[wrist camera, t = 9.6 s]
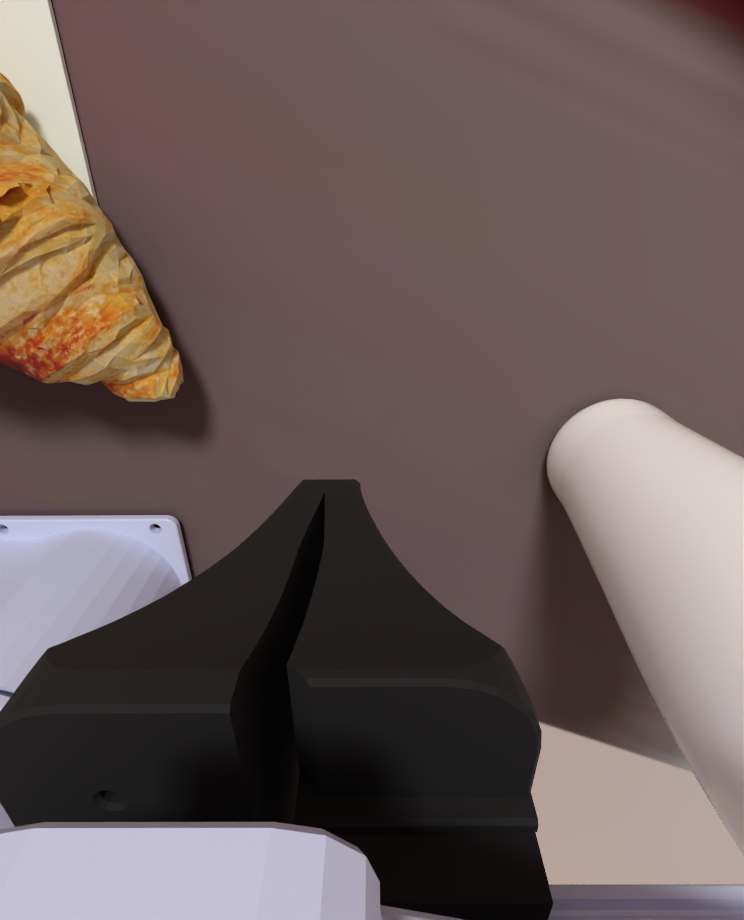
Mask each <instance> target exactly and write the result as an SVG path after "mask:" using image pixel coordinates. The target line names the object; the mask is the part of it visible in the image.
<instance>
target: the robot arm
mask: <svg viewBox="0 0 744 920" xmlns="http://www.w3.org/2000/svg"><path fill="white" fill-rule="evenodd" d="M153 524H157V525H159V526H160V527H161V528H156V527H155V526H154V525H153ZM3 525H4V526H6V527H7V528H8V529H7V528H6V527H4V526H3ZM540 750H541V729H540V726H539V722H538V718H537V715H536V712H535V709H534V707H533V704H532V702H531V699H530V697H529V695H528V693H527V691H526V688H525V686H524V684H523V682H522V680H521V678H520V676H519V674H518V672H517V670H516V668H515V666H514V665H513V663H512V661H511V659H510V657H509V656H508V654H507V652H506V650H505V649H504V648H503V647H502V646H501V645H499V644H498V643H496V642H494V641H493V640H491V639H490V638H488V637H487V636H485V635H483V634H482V633H480V632H479V631H477V630H476V629H474V628H472V627H471V626H469V625H468V624H466V623H465V622H463V621H462V620H460V619H459V618H458V617H457V616H455V615H454V614H453V613H451V612H450V611H449V610H447V609H446V608H445V607H444V606H443V605H442V604H441V603H439V602H438V601H437V600H436V599H435V598H434V597H433V596H432V595H431V594H430V593H428V592H427V591H426V590H425V589H424V588H423V587H422V586H421V585H420V584H419V583H418V582H417V581H416V580H415V579H414V577H413V576H412V575H411V574H410V573H409V572H408V571H407V570H406V568H405V567H404V566H403V565H402V564H401V562H400V561H399V560H398V559H397V557H396V556H395V555H394V553H393V552H392V550H391V549H390V548H389V546H388V545H387V543H386V542H385V540H384V539H383V537H382V535H381V534H380V532H379V530H378V529H377V527H376V525H375V523H374V521H373V519H372V518H371V516H370V514H369V512H368V509H367V507H366V505H365V502H364V500H363V497H362V494H361V489H360V483H359V482H358V481H356V480H303V481H302V482H301V483H300V484H299V485H298V486H297V487H296V488H295V489H294V490H293V491H292V493H291V494H290V495H289V496H288V497H287V498H286V499H285V501H284V502H283V503H282V504H281V505H280V506H279V507H278V508H277V509H276V510H275V511H274V512H273V513H272V515H271V516H270V517H269V518H268V519H267V520H266V521H265V522H264V523H263V524H262V525H261V526H260V527H259V528H258V529H257V530H256V531H254V532H253V533H252V534H251V535H250V536H249V537H248V538H247V539H246V540H245V541H243V542H242V543H241V544H240V545H239V546H238V547H237V548H235V549H234V550H233V551H232V552H230V553H229V554H228V555H227V556H225V557H224V558H223V559H221V560H220V561H218V562H217V563H216V564H214V565H213V566H212V567H210V568H209V569H207V570H206V571H204V572H203V573H201V574H200V575H198V576H196V577H195V578H193V579H192V577H191V573H190V568H189V564H188V559H187V554H186V550H185V545H184V541H183V536H182V532H181V527H180V524H179V521H178V520H177V519H176V518H174V517H172V516H169V515H107V516H0V920H744V885H549V884H548V880H547V876H546V872H545V868H544V865H543V861H542V857H541V853H540V849H539V845H538V842H537V838H536V834H535V832H537V829H538V818H537V814H536V810H535V807H534V803H533V799H532V796H531V787H532V783H533V779H534V775H535V771H536V766H537V762H538V758H539V754H540Z"/></svg>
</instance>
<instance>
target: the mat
mask: <svg viewBox="0 0 744 920" xmlns="http://www.w3.org/2000/svg"><path fill="white" fill-rule="evenodd" d="M0 73H1V74H3V75H4V76H5V77H6V78H7V79H9V81H10V82H11V83H12V85H13V86H14V87H15V89H16V90H17V91H18V92H19V94H20V96H21V98H22V101H23V103H24V106H25V115H24V116H23V118H25V119H26V120H27V122H28V123H29V124H30V125H31V126H32V127H33V128H34V129H35V130H36V131H37V132H38V134H39V135H40V136H41V137H42V138H43V139H44V140H45V141H46V142H47V143H48V144H49V146H50V147H51V148H52V149H53V150H54V151H55V152H56V153H57V154H58V156H59V157H60V159H61V160H62V161H63V162H64V163H65V164H66V166H67V167H68V168H69V169H70V170H71V171H72V172H73V173H74V174H75V175H76V176H77V177H78V178H79V179H80V180H81V181H82V182H83V183H84V184H85V186H86V187H87V189H88V190H89V192H90V193H91V195H92V196H93V197H94V199H95V201H96V203H97V198H96V194H95V190H94V185H93V181H92V177H91V172H90V168H89V164H88V159H87V155H86V151H85V146H84V142H83V138H82V133H81V129H80V125H79V120H78V116H77V112H76V107H75V103H74V99H73V94H72V90H71V86H70V81H69V77H68V73H67V68H66V64H65V60H64V55H63V51H62V47H61V42H60V38H59V34H58V29H57V25H56V21H55V16H54V12H53V8H52V3H51V0H0ZM97 205H98V203H97Z"/></svg>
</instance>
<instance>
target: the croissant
mask: <svg viewBox="0 0 744 920" xmlns="http://www.w3.org/2000/svg"><path fill="white" fill-rule="evenodd" d="M24 115H25V106H24V103H23V101H22V98H21V96H20V94H19V92H18V91H17V90H16V89H15V87H14V86H13V85H12V83H11V82H10V81H9V79H7V78H6V77H5V76H4V75H3V74H1V73H0V363H2V364H4V365H6V366H9V367H11V368H13V369H15V370H17V371H19V372H21V373H23V374H25V375H28V376H30V377H32V378H34V379H36V380H38V381H40V382H44V383H57V382H67V381H69V382H74V383H79V384H83V385H89V384H93V383H96V382H98V381H101V382H102V383H103V385H105V386H106V387H107V388H108V389H109V390H111V391H112V392H113V393H114V394H116V395H118V396H120V397H123V398H125V399H126V400H128V401H129V402H134V401H141V402H157V401H160V400H165V399H171V398H175V395H176V392H177V391H178V390H179V387H180V384H182V383H184V382H183V370H182V365H181V360H180V356H179V352H178V350H176V349H175V348H174V347H173V345H172V339H171V336H170V333H169V331H168V329H167V328H165V327H163V325H162V323H161V321H160V319H159V316H158V314H157V312H156V309H155V307H154V305H153V303H152V301H151V298H150V296H149V294H148V291H147V289H146V285H145V282H144V279H143V276H142V274H141V272H140V271H139V269H138V267H137V266H136V264H135V262H134V261H133V259H132V258H131V256H130V255H129V254H128V253H127V251H126V250H125V249H124V247H123V246H122V244H121V243H120V241H119V240H118V238H117V236H116V234H115V232H114V229H113V226H112V223H111V222H110V221H109V220H108V219H107V218H106V216H105V215H104V214H103V212H102V211H101V209H100V208H99V206H98V205H97V203H96V201H95V199H94V197H93V196H92V195H91V193H90V192H89V190H88V189H87V187H86V186H85V184H84V183H83V182H82V181H81V180H80V179H79V178H78V177H77V176H76V175H75V174H74V173H73V172H72V171H71V170H70V169H69V168H68V167H67V166H66V164H65V163H64V162H63V161H62V160H61V159H60V157H59V156H58V154H57V153H56V152H55V151H54V150H53V149H52V148H51V147H50V146H49V144H48V143H47V142H46V141H45V140H44V139H43V138H42V137H41V136H40V135H39V134H38V132H37V131H36V130H35V129H34V128H33V127H32V126H31V125H30V124H29V123H28V122H27V120H26V119H25V118H23V116H24Z"/></svg>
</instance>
